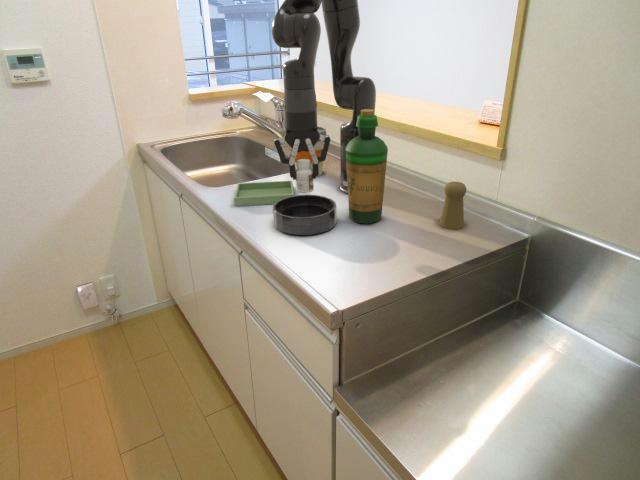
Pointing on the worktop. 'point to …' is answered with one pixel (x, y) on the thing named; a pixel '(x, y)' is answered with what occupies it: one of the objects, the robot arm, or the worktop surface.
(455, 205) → the cork
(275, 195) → the tray
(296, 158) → the reusable coffee cup
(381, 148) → the bottle
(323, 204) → the pan
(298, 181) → the pill bottle
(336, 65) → the robot arm
